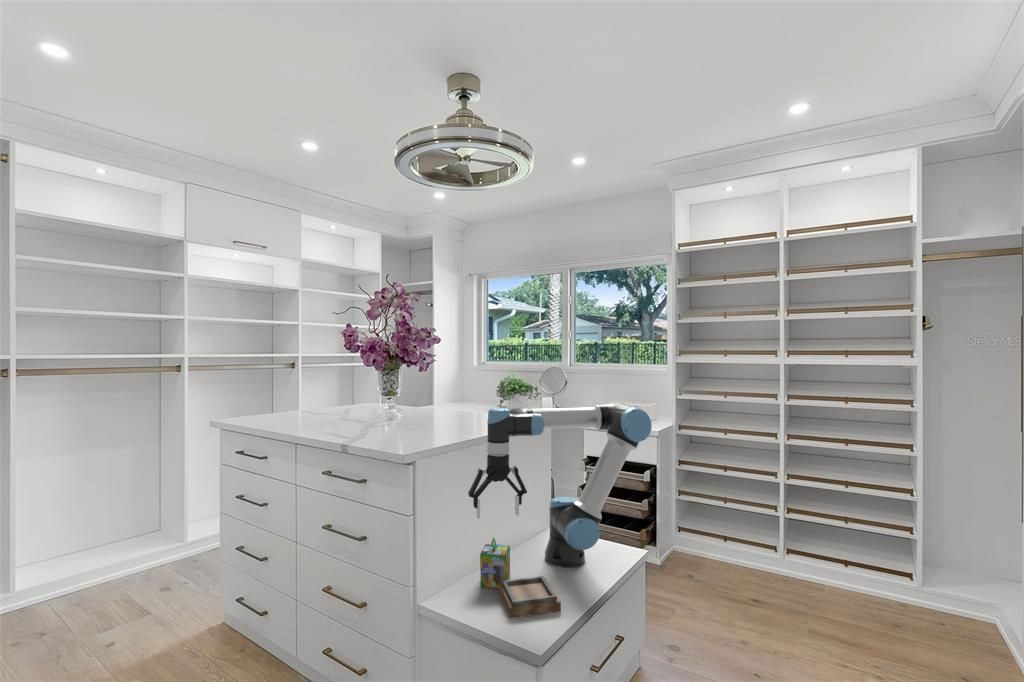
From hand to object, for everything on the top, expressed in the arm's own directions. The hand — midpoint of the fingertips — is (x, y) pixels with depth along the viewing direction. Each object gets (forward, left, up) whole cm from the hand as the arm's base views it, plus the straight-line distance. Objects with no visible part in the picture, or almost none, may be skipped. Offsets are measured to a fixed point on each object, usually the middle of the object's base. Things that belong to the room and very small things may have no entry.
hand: (497, 515), depth 172 cm
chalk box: (0, -1, -24) cm, 24 cm away
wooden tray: (-7, +14, -23) cm, 28 cm away
